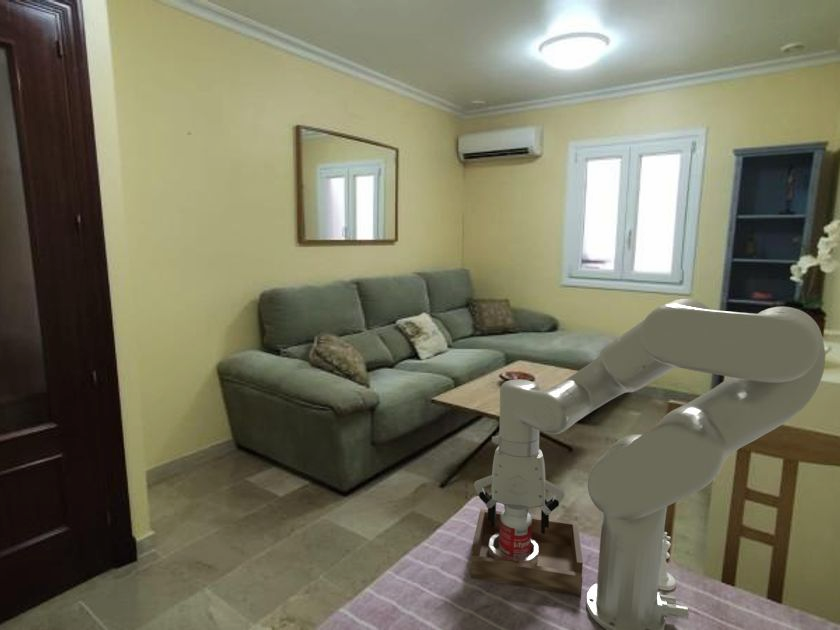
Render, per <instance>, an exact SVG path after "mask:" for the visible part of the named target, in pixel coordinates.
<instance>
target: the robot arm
mask: <svg viewBox="0 0 840 630" xmlns="http://www.w3.org/2000/svg"><path fill="white" fill-rule="evenodd" d="M825 365H826V352H825V342H824V338H823V334H822V331H821V329H820V327H819V324H817V322H816V320H814V319H813V317H812V316H810V315H809V314H808V313H806V312H804V311H803V310H800V309H798V308H795V307H790V306H775V307H774V306H773V307H770V308H766V309H764V310H761V311H760V312H758V313H753V312H750V313H749V312H738V311H726V310H716V309H710V308H709V307H708V305H706V304H704V303H703V302H701V301H698V300H696V299H691V298H680V299H676V300H675V299H674V300H673V301H672V300H671V301H670V302H667V303H665V304H662V305H660V306H658V307H656V308H655V309H653V310H652V311H651V312H649V313H648V314H647V316H646V317H645V319H643V320H642V321H641V322H639V323H637V324H636V325H635V326H633V327H632V328H630V329H629V330H628V331H626V332H624V333H623V334H621V335H620V336H618V337H616V338H615V339H614V340H612V341H611V342H609V343H608V344H607V345H605V346H604V347H603V348H601V350H600V352H599V355H598V356H597V357H596V358H594V359H593V360H592V361H591V362H590V363H589V364H587V365H585V366H584V367H583V368H580V370H578V371H577V372H575V373H574V374H572V375H570V376H569V377H567V378H566V379H564V380H563V381H561V382H559V383H557V384H555V385H554V386H551V387H549V388H547V389H542V390H541V389H540V387H539V384H537V383H536V382H534V381H532V380H528V379H520V378H519V379H510V380H507V381H504V382H503V383H502V384H501V386H500V388H499V434H497V435H496V436H491V444H493V445H494V444H495V445H497V448H496V449H495V452H494V456H493V462H492V473H491V474H490V475H488V476H485V477H483V478H482V477H481V478H480V479H478V480H475V481H474V484H473V488H474V489H475V491H476V493H477V494H478V498H479V499H480V500H481V501H482V502H483V504H485V507H486V508H487V510H488V521H491V527H492V528H494V527H495V522H496V511H497V503H498V504H511V505H519V506H529V507H528V508H530V507H531V508H540V511H541V512H540V517H541V533H542V534H545V527H546V528H549V519H550V514H551V513H552V512H553V511H554V510H556V509H557V508H559V506H560V503H561V502H562V500H563V499H564V497H565V490H564V489H562V488H560V486H557V485H556V484H554V483H553V482H551V481H548V480H547V479H546V468H545V467H546V465H545V459H544V455H543V452H542V450H541V449H540V432H542V433H544V434H549V435H558V434H559V435H560V434H561V433H564V432H565V431H567V430H568V429H570V428H571V427H572V426H573V425H574V424H575V423H577V422H578V421H580V420H581V419H583V418H584V417H585V416H587V415H589V414H590V413H592V412H593V411H595V410H597V409H598V408H600V407H602V406H604V405H605V404H607V403H608V402H610V401H612V400H614V399H615V398H617V397H619V396H621V395H623V394H625V393H635V392H636V391H638V390H640V389H643V388H644V387H645V386H647V385H649V384H651V383H652V382H654V381H655V380H657V379H659V378H661V377H662V376H664V375H666V374H667V373H669V372H671V371H672V370H675V369H677V368H679V369H684V370H688V371H694V372H698V373H699V372H700V373H706V374H712V375H717V376H724V377H728V378H727V379H725V380H724V381H722V382H721V383H719V384H717V385H715V387H714V388H712V389H710V390H708V391H706V392H705V393H703V394H701V395H700V396H698V397H695V398H694V399H693V400H691V401H689V402H687V403H685V404H683V405H681V406H679V407H677V408H674V409H673V410H671V411H670V412H668V413H667V414H666V415H665V416H663V417H662V419H661V420H659V422H658V423H657V424H656V425H655V426H654V427H653V428H651V429H650V430H648V431H647V432H645V433H643V434H629V435H626V436H625V437H622V438H621V439H619V440H617V441H615V442H614V444H613V445H611V447H609V448H608V449H607V450H606V451H605V452H604V454H603V455H601V456H600V457H599V458H598V459H597V460H596V462H595V463H594V464H592V467H591V468H590V471H589V473H588V476H587V491H588V495H589V497H590V500H591V501H592V503H593V505H594V506H595V507H596V508H597V509H598V510H599V511H600V512H601V513H602V516H601V527H600V538H599V539H600V541H599V554H598V567H597V581H596V583H595V584H593V585H592V586H591V587H590V588H589V589H588V591H587V593H586V598H585V599H586V601H585V602H586V608H587V611H588V613H589V614H590V617H592V619H593V620H594V621H595V623H598V624H599V625H600V626H601V627H602V628H604V629H605V630H665V628H666V621H667V620H666V618H668V616H669V617H670V616H671V617H674V618H678V619H683V620H689V617H690V615H689V608H688V606H687V605H682V604H677V597H676V596H674V595H669V594H662V593H661V592H659V589H658V585H659V575H660V565H661V555H662V545H663V539H664V538H663V537H664V532H665V526H666V525H665V524H666V520H667V519H666V517H667V510H668V506H670V505H673V504H675V503H677V502H680V501H681V500H683V499H686V498H688V497H689V496H692V495H694V494H695V493H697V492H699V491H701V490H702V489H704V488H706V486H708V485H710V483H712V482H713V481H714V480H715V479H716V478H717V476H718V475H719V473H720V472H721V469H722V468H723V466H724V464H725V462H726V460H727V459H728V457H729V456H730V455H731V454H734V452H736V451H738V450H739V449H741V448H743V447H745V446H747V445H748V444H750V443H753V442H754V441H756V440H757V439H759V438H761V437H763V436H765V435H766V434H768V433H770V432H772V431H774V430H775V429H778V428H779V427H780V426H782V425H784V424H785V423H787V422H788V421H790V420H791V419H792V418H794V417H795V416H796V415H798V414H799V413H800V412H801V411H802V410H803V409H804V408H805V407H806V406H807V405H808V403H809V402H810V401H811V400H812V398H813V397H814V395H815V393H816V391H817V390H818V387H819V386H820V383H821V381H822V378H823V376H824V372H825V368H826V366H825ZM489 485H491V493H490V494H489V493H488V492H487V491H486V490H485V489H484V488H485V487H487V486H489ZM546 491H548V492H550V493H551V494H552V495H554V496H553V497H552V498H551V499H549V500H547V498H546Z"/></svg>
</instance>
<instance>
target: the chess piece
mask: <svg viewBox="0 0 840 630" xmlns="http://www.w3.org/2000/svg"><path fill="white" fill-rule="evenodd" d="M670 541H671V536H668V532H667V531H664V537H663V545H662V555H661V565H660V575H659V585H658V590H663V591H672V590H674V589H675V588H676V579H675V578H674V577H673V575H672V574H671V573H668V572H667V559H670V558H671V555H670V553H669V552H668V551H669V549H670V547H671V542H670Z"/></svg>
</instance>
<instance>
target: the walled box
mask: <svg viewBox="0 0 840 630" xmlns="http://www.w3.org/2000/svg"><path fill="white" fill-rule="evenodd" d="M502 512H503V511H498V510H496V522H495V527H494V528H492V527H491V521H488V509H483V508H480V510H479V513H478V519H477V522H476V528H475V533H474V536H473V541H472V547H471V551H472V552H471V559H470V560H471V561H470V562H471V563H470V564H471V565H470V578H471V579H475V580H476V579H477V580H483V581H488V582H493V583H494V582H495V583H498V584H499V583H501V584H504V585H505V584H506V585H511V586H512V585H513V586H518V587H523V588H529V589H534V590H540V591H546V592H553V593H557V594H558V593H559V594H563V595H564V594H565V595H569V596H576V597H580V598H581V597H582V589H583V578H584V577H583V568H584V567H583V565H584V563H583V561H584V560H583V555H582V547H581V541H580V531H579V526H578V525H579V524H578V522H576V521H570V520H569V521H568V520H563V519H555V518H549V528H546V527H545V534H542V533H541V516H540V517H539V516H533V515H530V516H531V519H532V526H531V538H533V540H534V541H535V542H536V543H537V544H538V563H537V564H536V565H530V564H523V563H517V562H511V561H505V560H499V559H493V558H490V556H489V542H490V538H491V537H492V536H493V535H495V534H496V533H498V532H500V516H501V513H502ZM494 548H495V549H496V550H497V552H498V553H499V544H498V545H497V546H496V547H494ZM531 554H532V552H531V550H530V555H531Z"/></svg>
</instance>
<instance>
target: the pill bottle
mask: <svg viewBox="0 0 840 630" xmlns="http://www.w3.org/2000/svg"><path fill="white" fill-rule="evenodd" d="M503 507H504V509H503V510H502V511H501V512H502V513H501V516H500V535H499V553H500V554H502V555H504V556H506V557H509V558H515V559H520V558H526V557H529V556H530V545H531V526H532V519H531V516H532V515H530V513H529V508H530V507H529V506H519V505H511V504H504V506H503Z"/></svg>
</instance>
